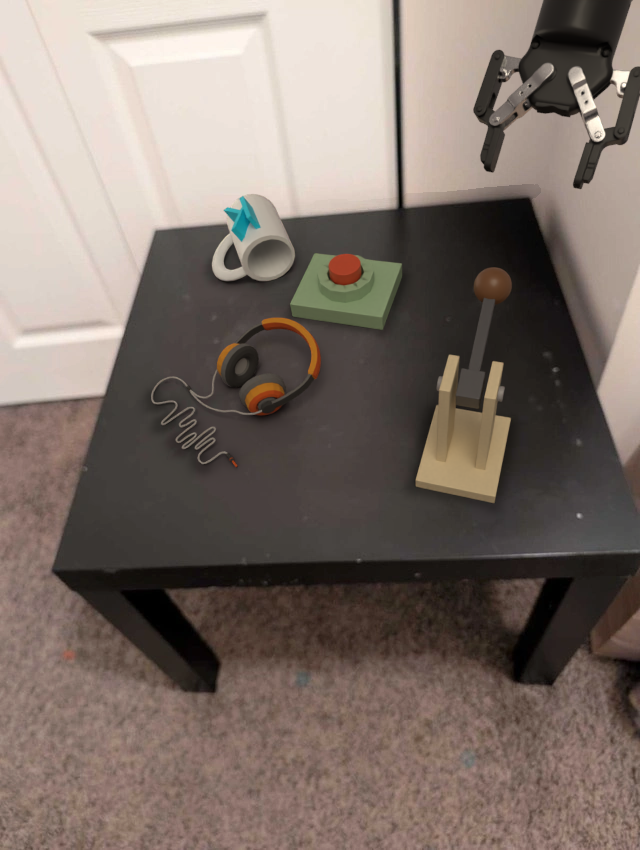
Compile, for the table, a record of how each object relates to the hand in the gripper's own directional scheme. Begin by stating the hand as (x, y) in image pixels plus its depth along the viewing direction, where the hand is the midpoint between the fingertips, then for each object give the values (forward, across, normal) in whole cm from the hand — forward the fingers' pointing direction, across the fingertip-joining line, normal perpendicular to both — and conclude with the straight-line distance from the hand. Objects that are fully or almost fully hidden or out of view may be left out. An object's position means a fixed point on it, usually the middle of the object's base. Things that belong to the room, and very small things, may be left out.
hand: (531, 178), depth 64 cm
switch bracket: (+28, +2, +1) cm, 28 cm away
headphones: (+30, -24, 0) cm, 39 cm away
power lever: (+16, 0, -2) cm, 16 cm away
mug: (+14, -37, +15) cm, 43 cm away
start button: (+13, -21, +11) cm, 27 cm away
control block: (+16, -21, +14) cm, 29 cm away
